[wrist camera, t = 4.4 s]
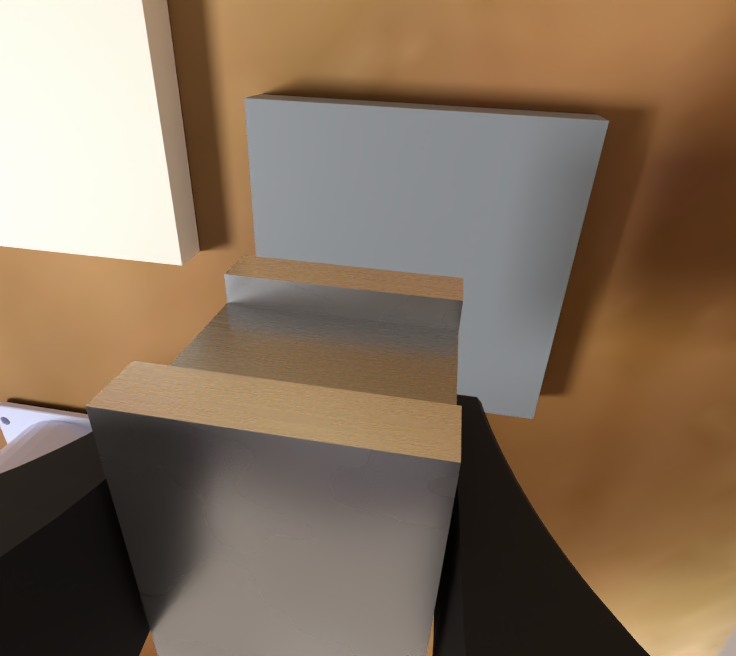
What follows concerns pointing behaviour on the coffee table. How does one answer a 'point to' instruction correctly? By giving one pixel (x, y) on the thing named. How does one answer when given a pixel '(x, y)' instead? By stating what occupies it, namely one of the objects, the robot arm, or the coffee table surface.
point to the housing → (293, 464)
